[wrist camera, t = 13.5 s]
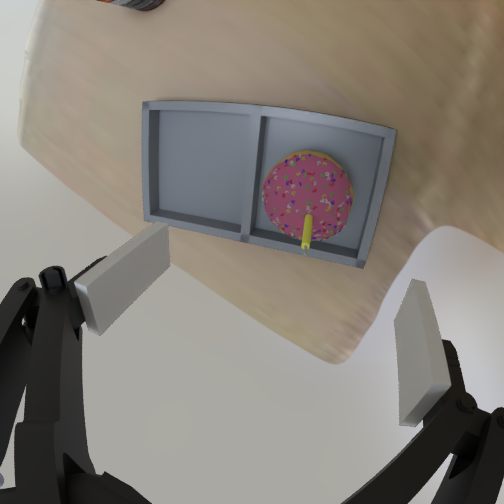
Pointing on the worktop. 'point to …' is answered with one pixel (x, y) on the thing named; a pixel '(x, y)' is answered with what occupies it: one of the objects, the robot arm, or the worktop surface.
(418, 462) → the robot arm
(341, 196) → the cupcake
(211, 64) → the worktop surface
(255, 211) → the grey divided tray
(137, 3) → the supplement bottle
